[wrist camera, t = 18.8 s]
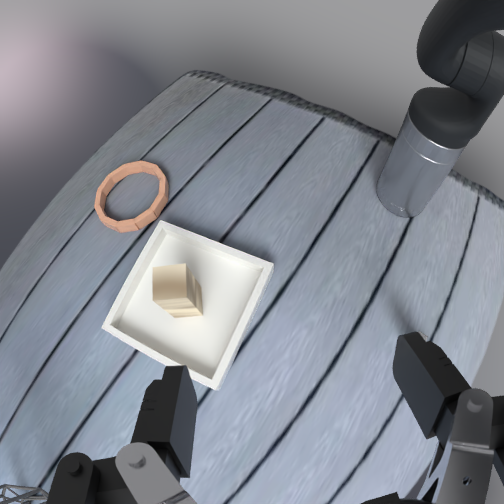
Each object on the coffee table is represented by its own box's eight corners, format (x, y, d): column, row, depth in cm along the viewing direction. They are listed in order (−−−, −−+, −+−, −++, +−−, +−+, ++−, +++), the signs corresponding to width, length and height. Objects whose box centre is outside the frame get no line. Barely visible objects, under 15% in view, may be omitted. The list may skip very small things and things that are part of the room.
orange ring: (126, 161, 56) (122, 155, 54) (182, 178, 53) (179, 171, 51) (87, 217, 51) (82, 212, 49) (142, 242, 48) (138, 237, 46)
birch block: (173, 290, 44) (152, 267, 36) (201, 287, 44) (185, 263, 36) (174, 318, 42) (152, 300, 34) (203, 315, 42) (186, 297, 34)
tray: (166, 229, 49) (160, 219, 46) (273, 271, 45) (273, 263, 43) (110, 331, 43) (101, 327, 40) (219, 390, 39) (215, 390, 36)
